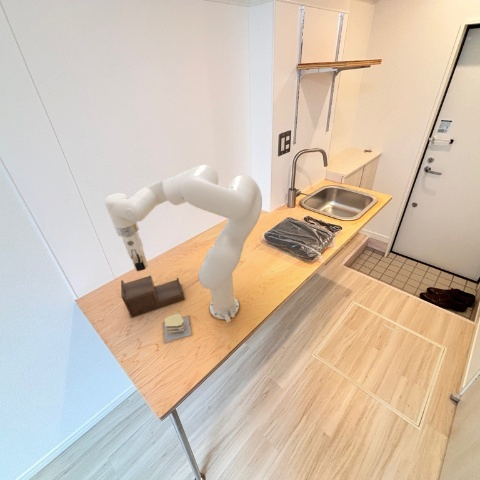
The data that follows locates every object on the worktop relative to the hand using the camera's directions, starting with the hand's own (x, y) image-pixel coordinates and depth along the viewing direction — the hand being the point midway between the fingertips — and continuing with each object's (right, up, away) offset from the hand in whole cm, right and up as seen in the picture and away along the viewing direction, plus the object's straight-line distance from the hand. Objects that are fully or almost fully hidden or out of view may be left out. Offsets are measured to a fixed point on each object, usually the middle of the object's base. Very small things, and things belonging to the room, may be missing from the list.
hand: (140, 264), depth 99 cm
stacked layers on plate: (+15, -26, 0) cm, 30 cm away
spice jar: (0, -1, +1) cm, 1 cm away
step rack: (+3, -17, +13) cm, 22 cm away
